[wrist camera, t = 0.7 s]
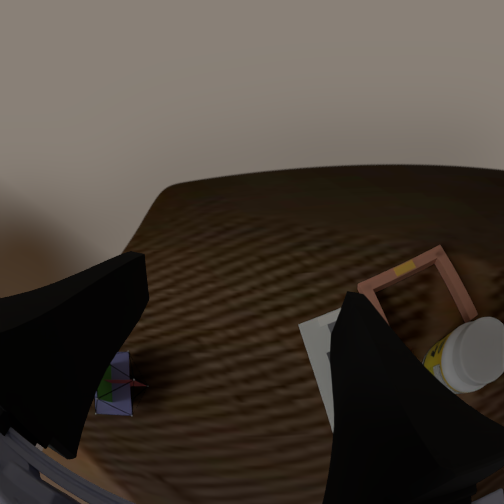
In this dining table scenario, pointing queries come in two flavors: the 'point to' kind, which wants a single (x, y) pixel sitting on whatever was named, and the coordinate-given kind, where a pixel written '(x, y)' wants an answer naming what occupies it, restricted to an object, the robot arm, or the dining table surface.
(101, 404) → the geometric puzzle
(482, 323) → the supplement bottle
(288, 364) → the dining table surface
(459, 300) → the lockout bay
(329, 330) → the panel
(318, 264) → the dining table surface
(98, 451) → the dining table surface
